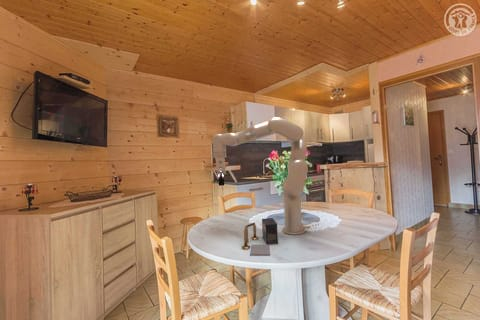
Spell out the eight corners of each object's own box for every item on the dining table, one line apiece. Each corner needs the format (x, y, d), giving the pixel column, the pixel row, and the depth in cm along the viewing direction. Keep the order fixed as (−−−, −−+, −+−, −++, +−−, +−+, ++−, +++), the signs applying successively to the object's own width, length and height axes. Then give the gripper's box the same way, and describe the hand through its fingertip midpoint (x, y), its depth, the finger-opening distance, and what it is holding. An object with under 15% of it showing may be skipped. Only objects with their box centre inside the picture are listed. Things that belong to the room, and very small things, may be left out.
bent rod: (259, 237, 124) (258, 221, 124) (248, 250, 109) (247, 231, 109) (251, 236, 126) (250, 220, 126) (238, 248, 111) (238, 230, 111)
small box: (262, 237, 125) (261, 218, 125) (273, 236, 125) (272, 217, 125) (265, 244, 114) (265, 224, 114) (278, 243, 115) (277, 223, 115)
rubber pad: (269, 245, 113) (269, 244, 113) (270, 255, 102) (270, 254, 102) (251, 245, 114) (251, 244, 114) (250, 255, 103) (250, 254, 103)
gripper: (226, 154, 125) (228, 185, 125) (225, 154, 142) (227, 182, 142) (213, 155, 124) (214, 186, 124) (213, 155, 141) (215, 183, 142)
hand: (221, 184), depth 133 cm, fingers open, 9 cm apart
